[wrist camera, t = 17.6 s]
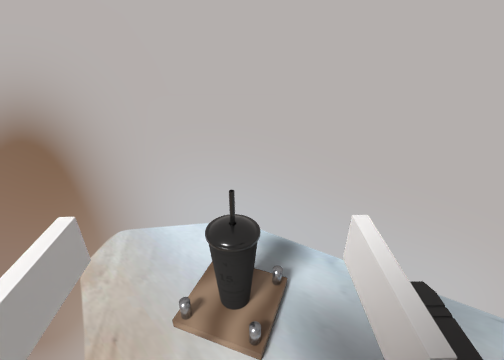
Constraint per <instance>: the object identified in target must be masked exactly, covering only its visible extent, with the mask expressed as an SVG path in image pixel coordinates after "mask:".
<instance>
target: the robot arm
mask: <svg viewBox="0 0 504 360" xmlns="http://www.w3.org/2000/svg"><path fill="white" fill-rule="evenodd" d="M343 259H344V262H345V264H346V266H347V269H348V271H349V274H350V276H351V279H352V281H353V284H354V286H355V288H356V291H357V293H358V296H359V298H360V301H361V303H362V306H363V308H364V311H365V313H366V315H367V318H368V320H369V323H370V325H371V328H372V330H373V333H374V335H375V337H376V340H377V342H378V345H379V347H380V350H381V352H382V355H383V357H384V360H483V359H482V358H481V356H480V355H479V353H478V352H477V350H476V349H475V348H474V346H473V345H472V343H471V342H470V340H469V339H468V337H467V336H466V335H465V333H464V332H463V330H462V329H461V327H460V326H459V325H458V323H457V322H456V320H455V319H453V318H452V315H451V313H450V312H449V310H448V309H447V308H445V305H444V303H443V302H442V300H441V299H440V297H439V296H438V295H437V293H436V292H435V291H434V290H432V289H431V288H430V287H429V286H428V285H427V284H425V283H424V282H410V281H409V280H408V278H407V276H406V275H405V273H404V272H403V270H402V268H401V267H400V265H399V264H398V262H397V260H396V259H395V257H394V256H393V254H392V253H391V251H390V249H389V248H388V246H387V244H386V243H385V241H384V240H383V238H382V237H381V235H380V233H379V232H378V230H377V229H376V227H375V225H374V224H373V222H372V221H371V219H370V217H369V216H368V215H352V218H351V223H350V227H349V232H348V237H347V241H346V246H345V251H344V256H343ZM90 261H91V259H90V257H89V254H88V251H87V248H86V246H85V243H84V240H83V237H82V235H81V232H80V229H79V226H78V224H77V221H76V218H75V217H58V218H57V220H56V221H54V223H53V224H52V225H51V226H50V227H49V228H48V229H47V230H46V231H45V232H44V233H43V234H42V235H41V236H40V237H39V238H38V240H36V241H35V243H33V245H32V246H31V247H30V248H29V249H28V250H27V251H26V252H25V253H24V254H23V255H22V256H21V257H20V258H19V259H18V260H17V261H16V262H15V263H14V264H13V265H12V267H11V268H10V269H9V270H8V271H7V272H6V273H5V274H4V275H3V276H2V277H1V278H0V360H27V358H28V356H29V355H30V353H31V352H32V350H33V349H34V347H35V345H36V344H37V343H38V341H39V339H40V338H41V336H42V335H43V333H44V332H45V330H46V329H47V327H48V326H49V324H50V323H51V321H52V319H53V318H54V316H55V315H56V313H57V312H58V310H59V309H60V307H61V306H62V304H63V302H64V301H65V299H66V298H67V296H68V295H69V293H70V292H71V290H72V289H73V287H74V286H75V284H76V282H77V281H78V279H79V278H80V276H81V275H82V273H83V272H84V270H85V269H86V267H87V265H88V264H89V262H90Z"/></svg>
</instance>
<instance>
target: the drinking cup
mask: <svg viewBox="0 0 504 360" xmlns="http://www.w3.org/2000/svg"><path fill="white" fill-rule="evenodd" d="M229 204H230V215H224V216H221V217H218V218H216V219H214V220H213V221H212V222H210V223H209V224H208V226H207V228H206V230H205V237H206V240H207V242H208V243H209V247H210V252H211V257H212V262H213V266H214V271H215V276H216V281H217V286H218V291H219V296H220V300H221V303H222V304H223V305H224V306H225V307H226V308H228V309H232V310H237V309H241V308H243V307H244V306H246V305H247V304H248V302H249V300H250V293H251V286H252V278H253V271H254V263H255V256H256V248H257V241H258V239H259V237H260V227H259V225H258V224H257V223H256V222H255V221H254V220H253V219H251V218H249V217H247V216H244V215H237V214H235V201H234V190H230V191H229Z"/></svg>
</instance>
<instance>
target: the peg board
mask: <svg viewBox="0 0 504 360" xmlns="http://www.w3.org/2000/svg"><path fill="white" fill-rule="evenodd" d="M286 284H287V278H286V277H283V276H282V267H281V266H274V267H273V273H269V272H266V271H262V270H259V269H255V268H254V271H253V278H252V286H251V293H250V300H249V302H248V304H247V305H246V306H244V307H243V308H241V309H237V310H232V309H228V308H226V307H225V306H224V305H223V304H222V303H221V300H220V296H219V291H218V286H217V281H216V276H215V271H214V266H213V262H212V263H211V264H210V265H209V267H208V268H207V270H206V271H205V273H204V274H203V276H202V277H201V279H200V280H199V282H198V283H197V285H196V286H195V288H194V289H193V291H192V292H191V293H190V295H189V296H188V297H183V298H181V299H180V301H179V306H180V310H179V311H178V313H177V314H176V316H175V317H174V319H173V325H174V327H177V328H179V329H182V330H184V331H187V332H189V333H192V334H195V335H197V336H200V337H202V338H205V339H207V340H210V341H213V342H215V343H218V344H220V345H223V346H225V347H228V348H231V349H233V350H236V351H238V352H241V353H243V354H246V355H248V356H251V357H254V358H256V359H259V360H261V359H262V356H263V353H264V350H265V347H266V344H267V341H268V338H269V335H270V332H271V329H272V326H273V323H274V320H275V317H276V314H277V311H278V308H279V305H280V302H281V299H282V296H283V293H284V290H285V287H286Z"/></svg>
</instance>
